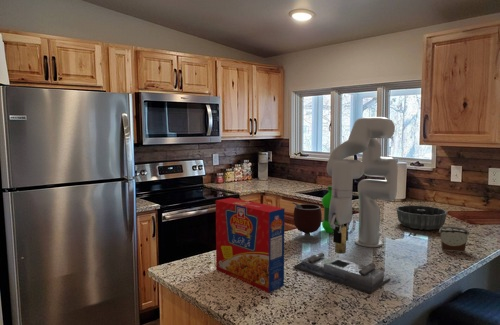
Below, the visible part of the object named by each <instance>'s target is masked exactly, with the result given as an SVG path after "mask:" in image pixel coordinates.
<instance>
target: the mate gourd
mask: <svg viewBox="0 0 500 325" xmlns="http://www.w3.org/2000/svg"><path fill="white" fill-rule="evenodd" d="M291 203H292V204H293V205H294V209H293V223H294V226H295V228H296V229H297V230H298V231H299V232H302V233H304V234H302V235H297V236H296V237H294V241H296V242H297V243H300V244H304V245H305V244H306V245H314V244H317V243H319V242H320V241H321V240H320V238H319V237H318V236H315V235H311V234H312V233H315V232H318V230H319V229H320V228H321V226H322V221H323V220H322V219H323V218H322V215H323V214H322V207H321V206H320V205H318V204H312V203H299V204H298V203H297V202H294V201H292V202H291Z"/></svg>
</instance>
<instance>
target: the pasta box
mask: <svg viewBox="0 0 500 325" xmlns="http://www.w3.org/2000/svg"><path fill="white" fill-rule="evenodd" d="M215 244H216V245H215V250H216V251H215V256H216V257H215V259H216V260H215V264H216V271H218V272H220V273H222V274H224V275H227V276H229V277H232V278H233V279H237V280H239V281H241V282H243V283H246V284H247V285H249V286H252V287H254V288H256V289H259V290H260V291H261V290H262V291H263V292H266V293H268V294H270V293H272V292H273V291H276V290H278V289H281V288H283V287H284V286H285V208H283V207H279V206H273V205H270V204H264V203H259V202H255V201H249V200H245V199H244V200H243V199H241V198H234V197H227V198H223V199H216V200H215Z"/></svg>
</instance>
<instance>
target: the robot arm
mask: <svg viewBox="0 0 500 325" xmlns="http://www.w3.org/2000/svg"><path fill="white" fill-rule="evenodd" d="M395 129H396V127H395V123H394V121H393V120H392V119H389V118H387V117H383V116H377V117H376V116H373V117H371V116H370V117H360V118H358V119H356V120H355V121H354V123H353V126H352V129H351V131H350V133H349V137H348V140H345V141H344V142H342V143H340V144H339V145H338V146H336V147H335V148H334V149H333V150H332V151H331V153H330V156H329V157H328V161H327V163H326V173H327V175H328V176H330V177H331V186H332V198H331V201H330V207H329V223H331V224H330V227H331V228H332V229H333V233H332V235H333V236H332V237H333V238H332V240H333V243H334V244H335V243H339V244H340V243H341V242H342V233H341V226H342V225H345V226H347V228H346V242H348V241H349V229H350V224H351V222H352V220H353V201H352V200H353V186H354V185H353V184H354V182H353V180H359V179H360V178H361V177H363V176H367V177H373V178H366V179H365V178H364V179H361V180H359V182H358V183H357V193H358V194H357V195H358V200H359V201H358V203H359V204H358V205H359V206H358V208H359V210H358V237H357V238H356V239H354V242H355V244H356V245H358V246H361V247H366V248H379V247H381V246H383V241H382V240H380V237H382V232H380V221H381V220H380V218H381V208H380V206H379V204H378V202H377V200H378V201H379V200H380V201H386V202H387V201H388V202H390V201H392V202H393V201H395V199H397V198H396V197H397V192H398V171H399V170H398V167H399V166H398V162H397V160H396V159H395V158H394V157H391V156H389V157H388V156H382V145H381V143H380V142H379V139H391V138H393V136H394V134H395V131H396V130H395ZM359 154H361V160H360V159H359V160H358V159H347V158H348V157H352V156H356V155H359ZM374 177H375V179H374ZM376 177H379V178H385V179H377V178H376ZM336 222H337V224H336ZM336 226H339V227H336Z"/></svg>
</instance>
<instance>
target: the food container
mask: <svg viewBox="0 0 500 325" xmlns="http://www.w3.org/2000/svg"><path fill="white" fill-rule="evenodd" d="M438 233H440V244H441V245H440V246H441V251H450V252H452V251H453V252H462V253H463V252H464V253H465V252H466V247H467V241H468V236H470V232H469V229H466V228H463V227H458V226H454V225H452V226H449V225H448V226H447V225H446V226H444V225H443V226H442V227H441V228H439V231H438Z"/></svg>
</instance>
